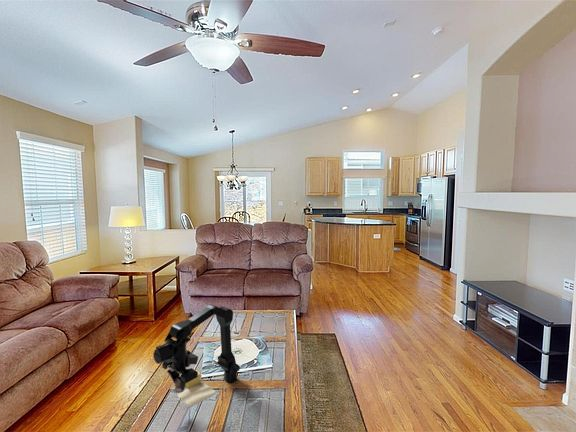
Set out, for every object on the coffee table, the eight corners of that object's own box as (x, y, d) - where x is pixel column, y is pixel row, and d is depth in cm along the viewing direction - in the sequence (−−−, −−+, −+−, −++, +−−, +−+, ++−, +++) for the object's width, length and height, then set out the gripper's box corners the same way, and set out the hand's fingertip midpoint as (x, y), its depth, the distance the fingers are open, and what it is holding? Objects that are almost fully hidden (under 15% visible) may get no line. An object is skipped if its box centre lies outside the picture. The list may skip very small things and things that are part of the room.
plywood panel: (216, 394, 150) (216, 393, 150) (189, 409, 140) (189, 407, 140) (195, 376, 164) (195, 375, 164) (169, 388, 154) (169, 387, 154)
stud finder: (200, 382, 158) (200, 373, 158) (187, 388, 153) (187, 378, 153) (196, 378, 161) (196, 369, 161) (183, 383, 157) (183, 374, 156)
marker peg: (186, 390, 137) (185, 379, 137) (177, 394, 135) (177, 383, 134) (181, 386, 140) (181, 375, 140) (173, 390, 137) (173, 379, 137)
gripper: (207, 353, 137) (208, 387, 138) (183, 340, 148) (183, 371, 149) (185, 364, 128) (186, 400, 129) (161, 349, 139) (162, 382, 141)
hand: (180, 387), depth 137 cm, fingers closed on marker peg, 4 cm apart
